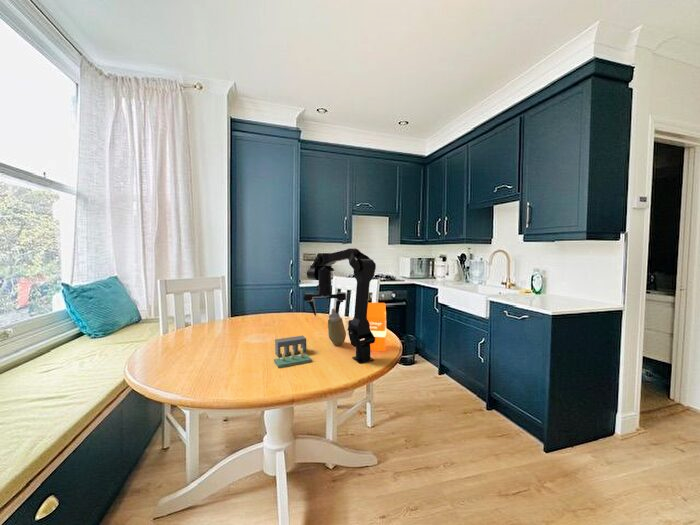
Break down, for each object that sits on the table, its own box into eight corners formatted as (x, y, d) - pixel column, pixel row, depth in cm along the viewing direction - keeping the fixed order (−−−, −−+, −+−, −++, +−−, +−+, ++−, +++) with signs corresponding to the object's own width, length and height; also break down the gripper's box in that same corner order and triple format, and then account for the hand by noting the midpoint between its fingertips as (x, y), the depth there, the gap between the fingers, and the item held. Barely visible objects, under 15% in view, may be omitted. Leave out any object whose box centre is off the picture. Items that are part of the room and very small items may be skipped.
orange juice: (384, 351, 127) (384, 304, 126) (364, 350, 129) (364, 304, 128) (386, 345, 135) (386, 301, 134) (367, 344, 136) (366, 300, 135)
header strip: (306, 356, 122) (305, 345, 122) (311, 361, 116) (311, 350, 115) (274, 361, 116) (273, 350, 116) (278, 367, 110) (278, 355, 110)
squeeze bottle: (347, 346, 134) (342, 314, 126) (329, 348, 134) (323, 315, 126) (347, 334, 141) (342, 303, 133) (330, 335, 141) (324, 304, 133)
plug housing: (302, 349, 131) (302, 335, 130) (306, 352, 126) (306, 338, 126) (275, 353, 125) (275, 339, 125) (278, 357, 121) (277, 342, 121)
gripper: (346, 278, 142) (346, 311, 142) (306, 279, 142) (307, 312, 142) (345, 281, 130) (346, 316, 131) (303, 282, 131) (303, 317, 131)
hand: (325, 315), depth 134 cm, fingers open, 9 cm apart
